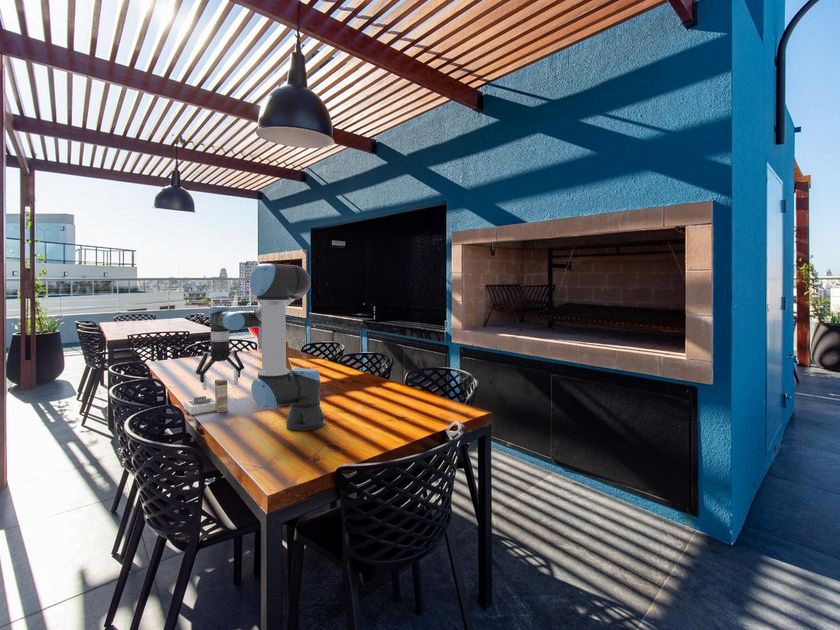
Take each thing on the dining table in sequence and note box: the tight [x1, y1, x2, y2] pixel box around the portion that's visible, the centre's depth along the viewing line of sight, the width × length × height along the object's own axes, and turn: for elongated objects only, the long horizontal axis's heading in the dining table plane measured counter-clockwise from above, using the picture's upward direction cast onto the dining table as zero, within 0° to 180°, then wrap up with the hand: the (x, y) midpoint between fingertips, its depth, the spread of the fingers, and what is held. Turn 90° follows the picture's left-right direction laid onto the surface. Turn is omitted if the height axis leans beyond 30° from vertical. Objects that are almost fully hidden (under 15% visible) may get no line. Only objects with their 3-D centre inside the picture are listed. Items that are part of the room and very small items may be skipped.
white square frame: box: [183, 395, 216, 416], centre depth 194 cm, size 12×12×5 cm
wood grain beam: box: [214, 378, 229, 413], centre depth 192 cm, size 4×4×14 cm
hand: (220, 387), depth 192 cm, fingers open, 13 cm apart
